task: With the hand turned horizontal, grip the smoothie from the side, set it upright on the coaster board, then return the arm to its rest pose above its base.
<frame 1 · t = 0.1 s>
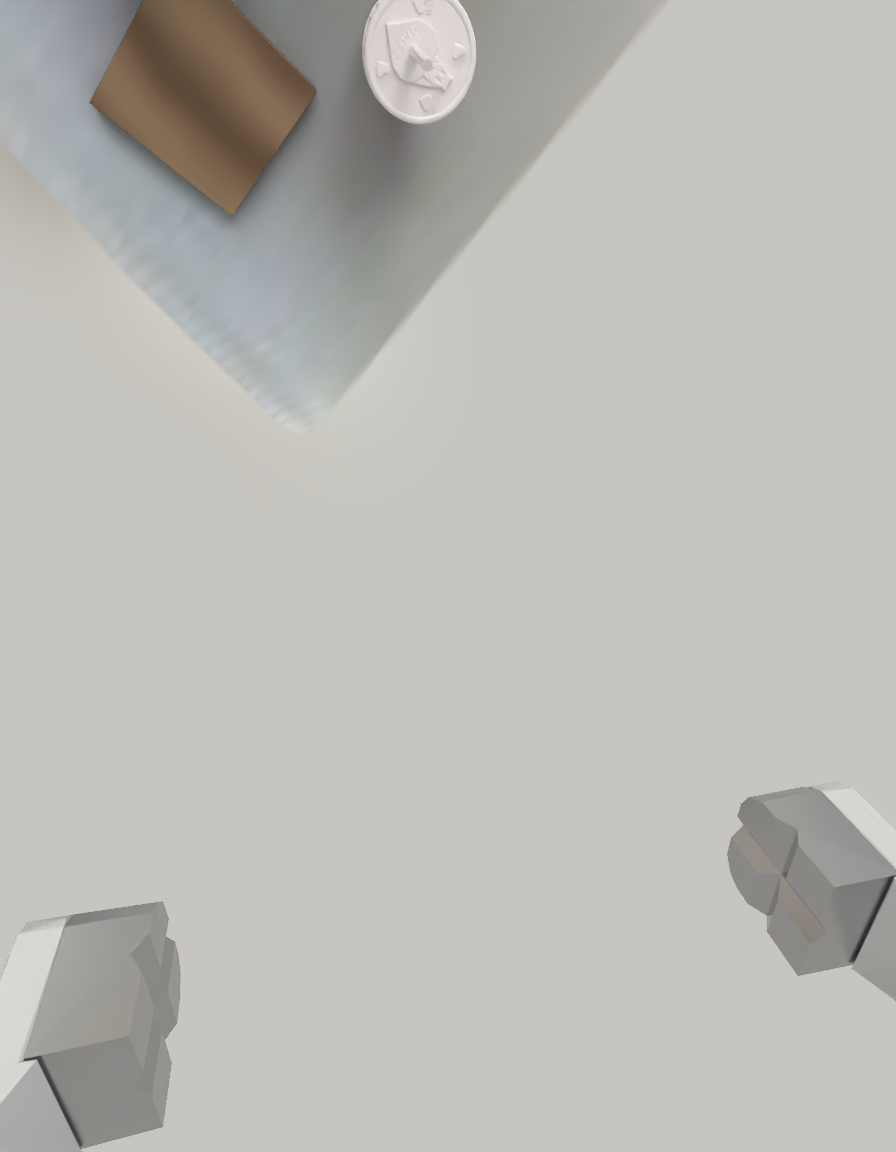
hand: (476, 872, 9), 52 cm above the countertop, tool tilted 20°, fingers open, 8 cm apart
smoothie: (395, 29, 43), on the countertop
coaster board: (206, 92, 44), on the countertop
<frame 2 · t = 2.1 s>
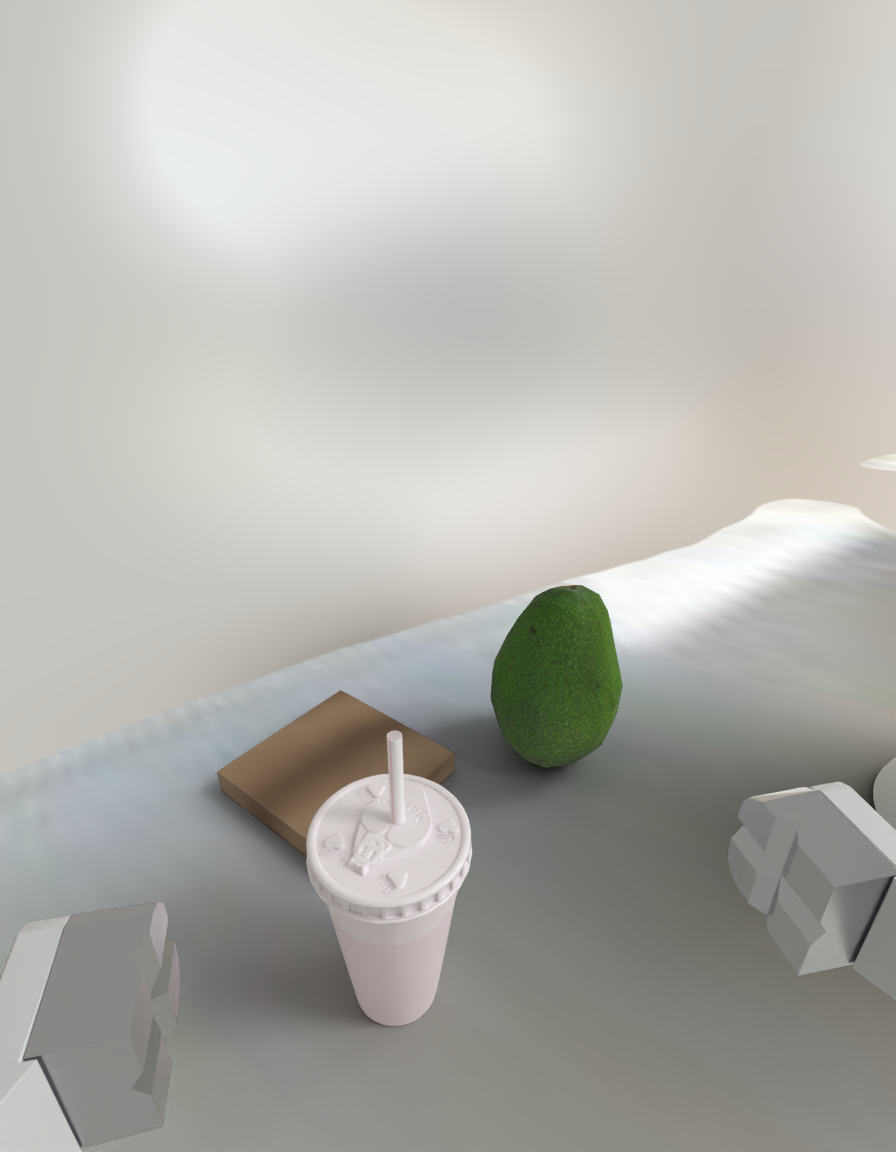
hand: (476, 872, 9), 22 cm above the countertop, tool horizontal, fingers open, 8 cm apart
avocado: (547, 751, 44), on the countertop
smoothie: (396, 985, 30), on the countertop
coaster board: (339, 780, 41), on the countertop
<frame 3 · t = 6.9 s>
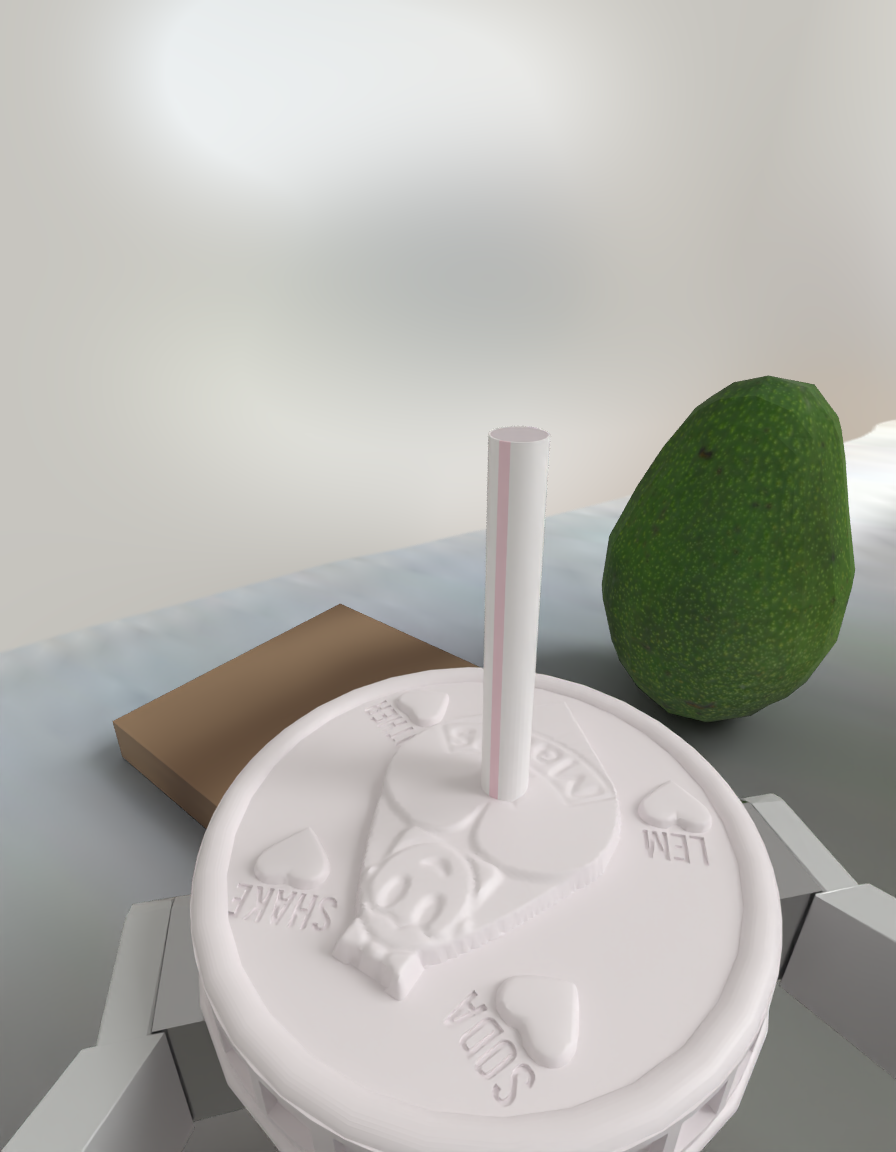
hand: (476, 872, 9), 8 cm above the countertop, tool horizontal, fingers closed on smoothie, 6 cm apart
avocado: (690, 700, 26), on the countertop
coaster board: (336, 742, 23), on the countertop
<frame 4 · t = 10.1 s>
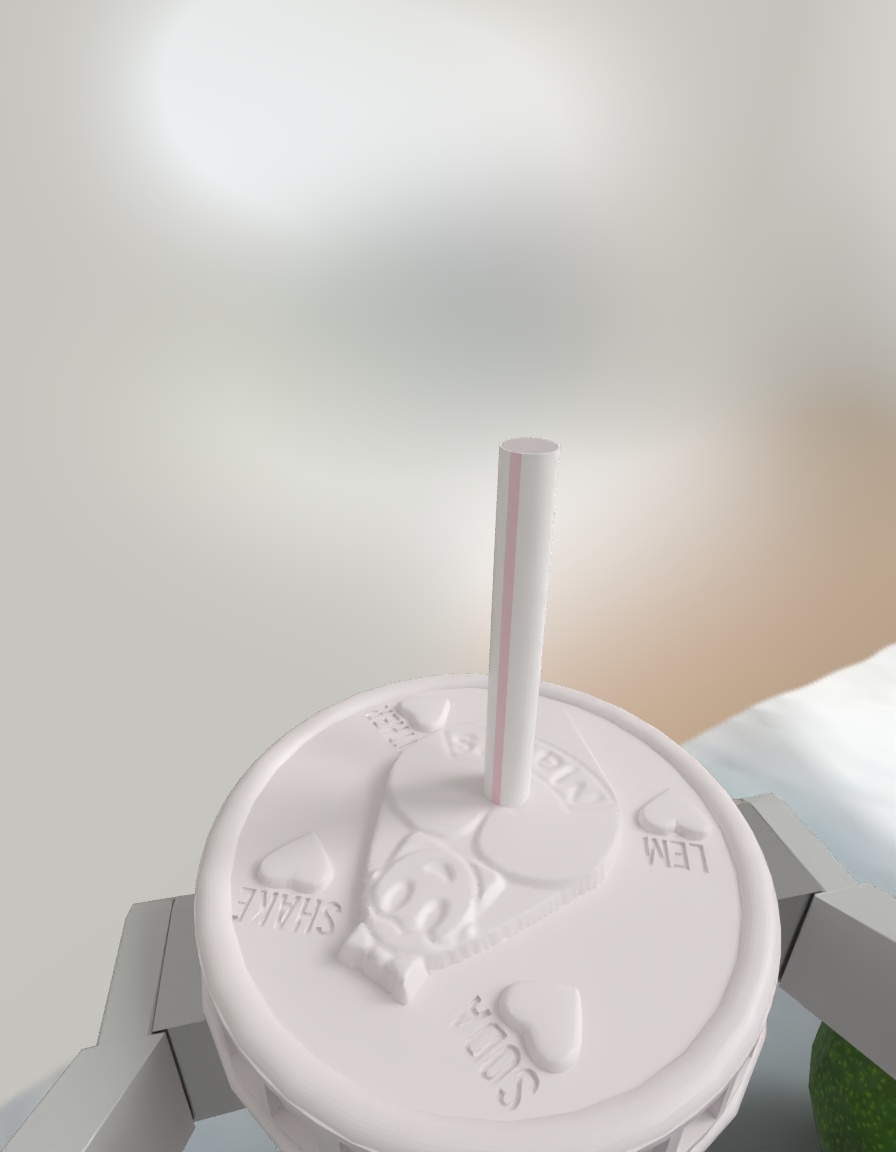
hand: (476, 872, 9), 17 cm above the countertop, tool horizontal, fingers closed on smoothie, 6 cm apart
when the fingers open (10 cm above the countertop, at t = 13.1 s): smoothie moves 2 cm, resting on coaster board.
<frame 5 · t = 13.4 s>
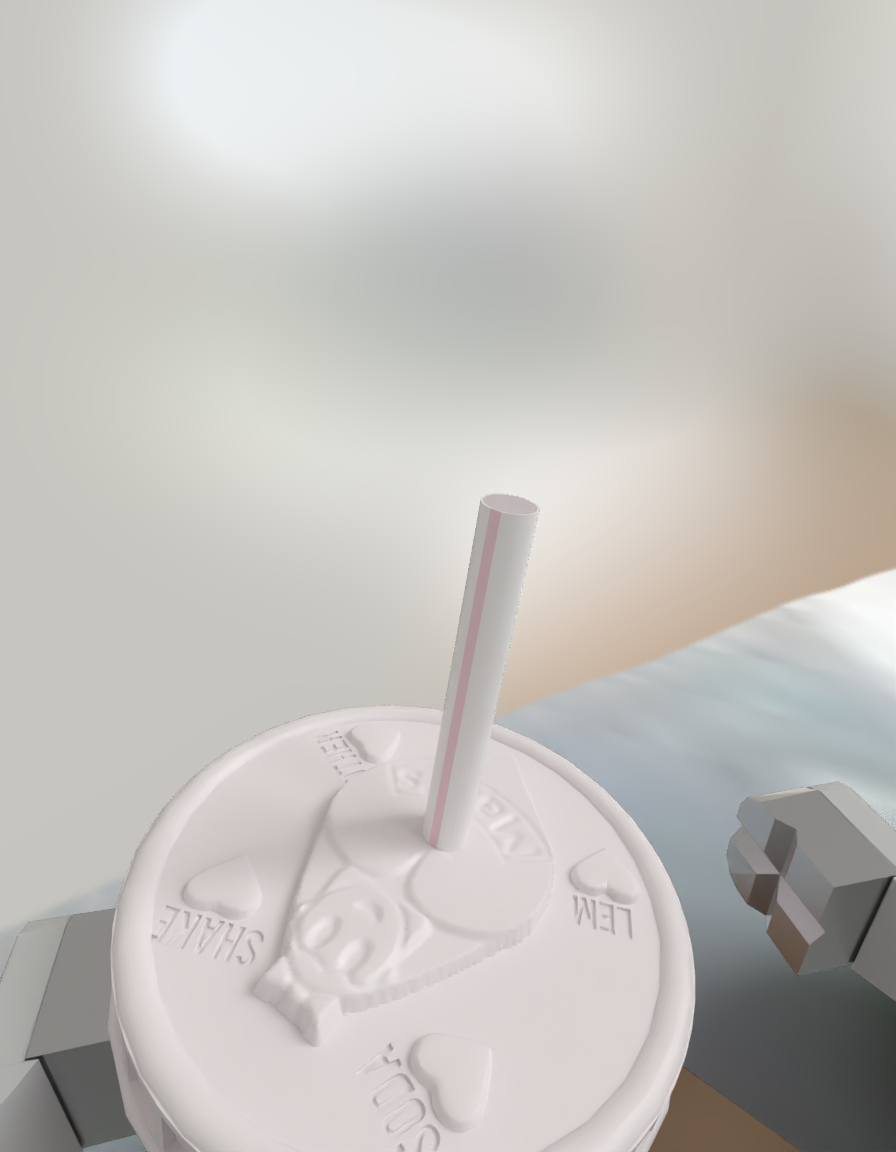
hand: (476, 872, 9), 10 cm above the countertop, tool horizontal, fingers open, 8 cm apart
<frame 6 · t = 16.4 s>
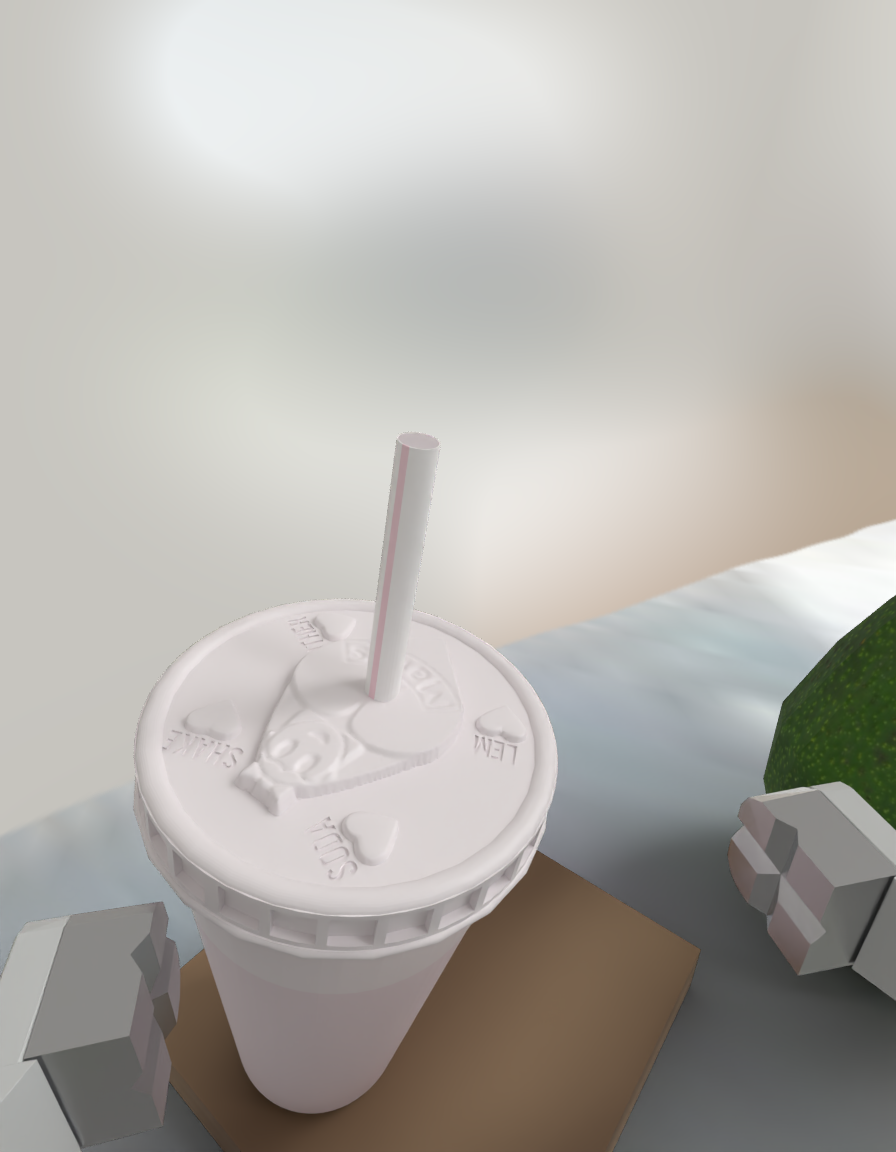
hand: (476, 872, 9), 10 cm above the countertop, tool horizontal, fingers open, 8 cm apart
avocado: (873, 922, 20), on the countertop
smoothie: (319, 1020, 15), point 2 cm above the countertop, touching coaster board
coaster board: (428, 1014, 17), on the countertop
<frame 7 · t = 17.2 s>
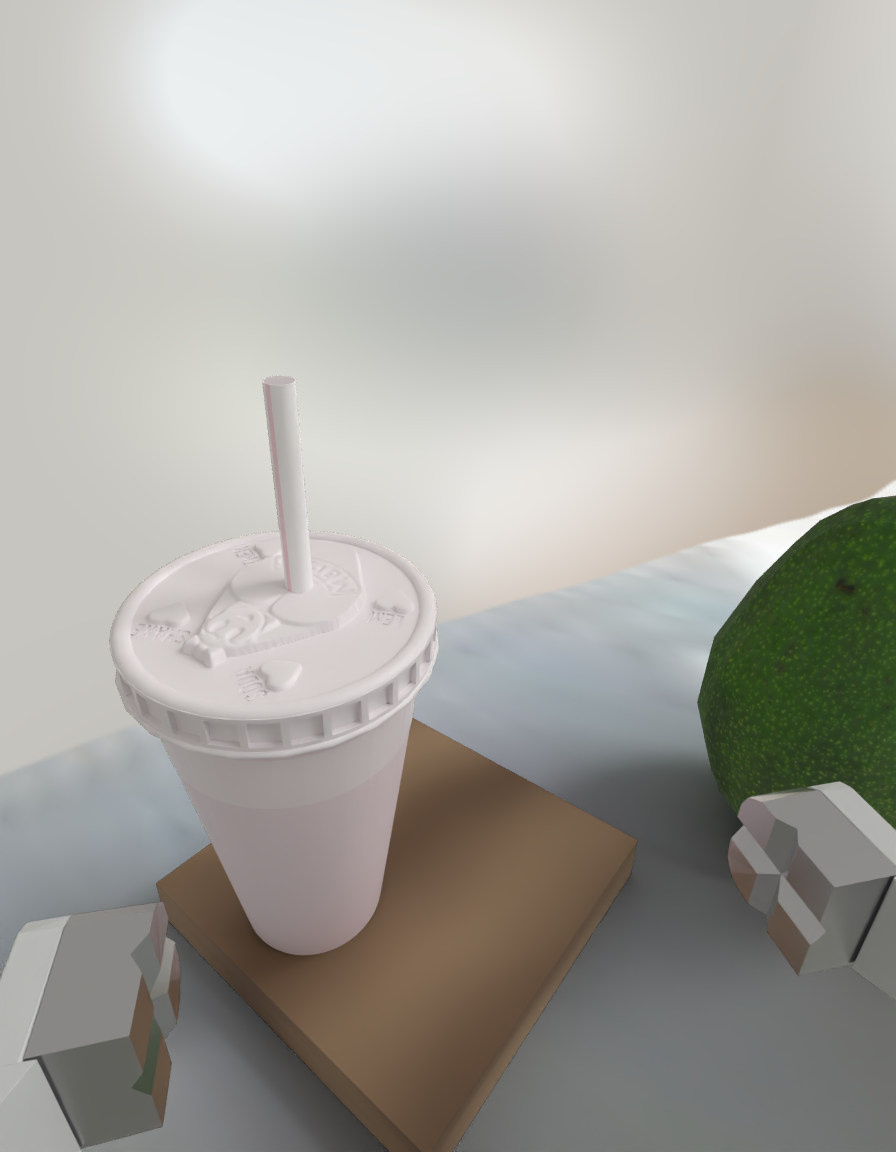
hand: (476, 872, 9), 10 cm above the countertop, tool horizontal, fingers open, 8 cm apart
avocado: (794, 828, 23), on the countertop
smoothie: (315, 892, 19), point 1 cm above the countertop, touching coaster board
coaster board: (406, 895, 20), on the countertop
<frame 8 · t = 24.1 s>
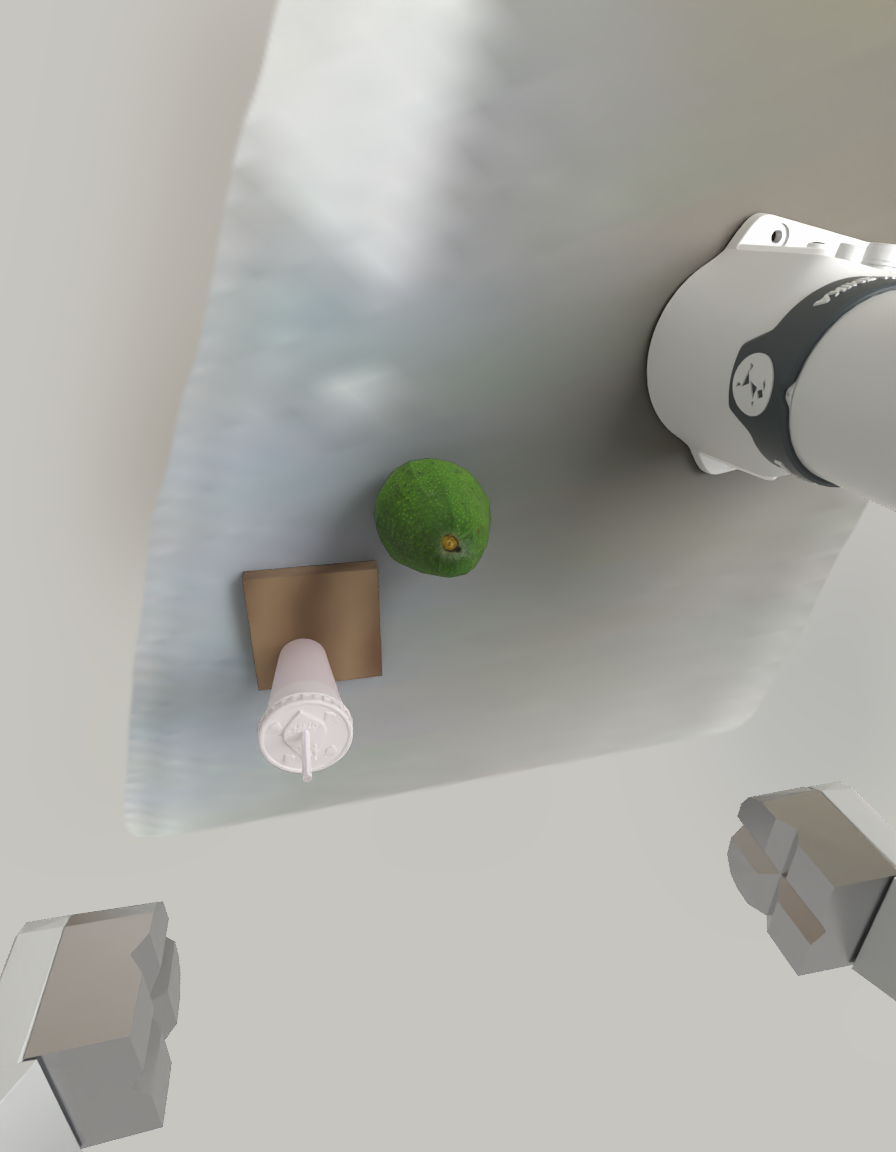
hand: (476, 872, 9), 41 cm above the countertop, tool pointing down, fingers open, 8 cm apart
avocado: (418, 491, 51), on the countertop
smoothie: (302, 656, 53), point 1 cm above the countertop, touching coaster board
coaster board: (315, 621, 54), on the countertop
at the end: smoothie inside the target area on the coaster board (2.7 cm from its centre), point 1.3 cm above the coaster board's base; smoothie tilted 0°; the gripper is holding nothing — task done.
